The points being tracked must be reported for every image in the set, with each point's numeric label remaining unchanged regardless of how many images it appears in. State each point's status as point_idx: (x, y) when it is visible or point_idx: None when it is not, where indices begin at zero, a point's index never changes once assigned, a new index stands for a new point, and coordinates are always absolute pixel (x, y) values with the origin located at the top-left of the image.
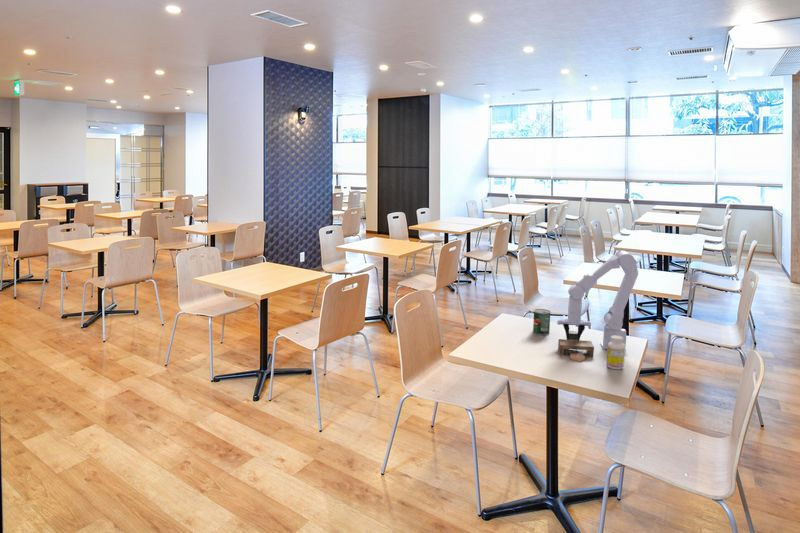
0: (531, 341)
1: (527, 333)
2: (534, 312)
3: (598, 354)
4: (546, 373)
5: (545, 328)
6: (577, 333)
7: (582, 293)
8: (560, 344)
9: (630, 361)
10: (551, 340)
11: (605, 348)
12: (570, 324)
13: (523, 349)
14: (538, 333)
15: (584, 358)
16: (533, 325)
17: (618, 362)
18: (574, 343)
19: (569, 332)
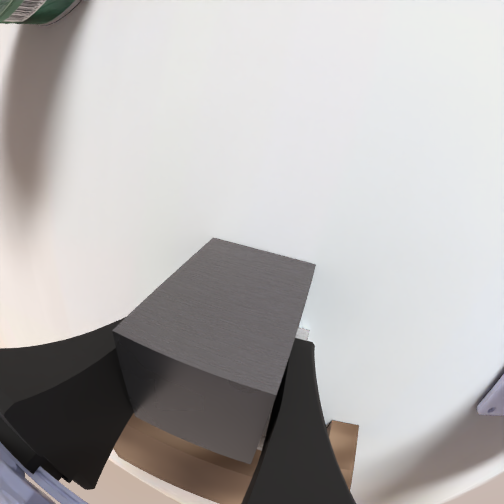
0: (9, 193)
1: (8, 34)
2: None
3: (373, 459)
4: (127, 466)
5: (24, 2)
6: (245, 453)
7: None
8: (117, 453)
9: (452, 492)
10: (87, 152)
11: (484, 414)
12: (71, 499)
13: (19, 309)
14: (34, 23)
15: None
16: None
17: None
18: (194, 482)
19: (136, 396)
